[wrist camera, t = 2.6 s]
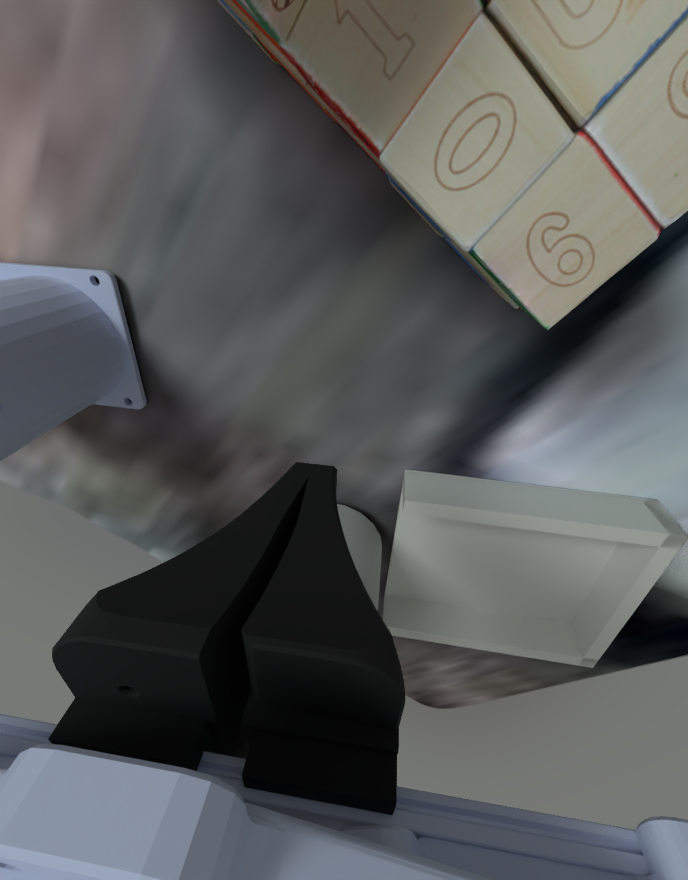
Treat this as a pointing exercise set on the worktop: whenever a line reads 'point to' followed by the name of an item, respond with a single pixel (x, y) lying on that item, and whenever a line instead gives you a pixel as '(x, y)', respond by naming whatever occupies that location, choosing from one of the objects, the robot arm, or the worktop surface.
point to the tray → (522, 565)
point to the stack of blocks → (507, 123)
